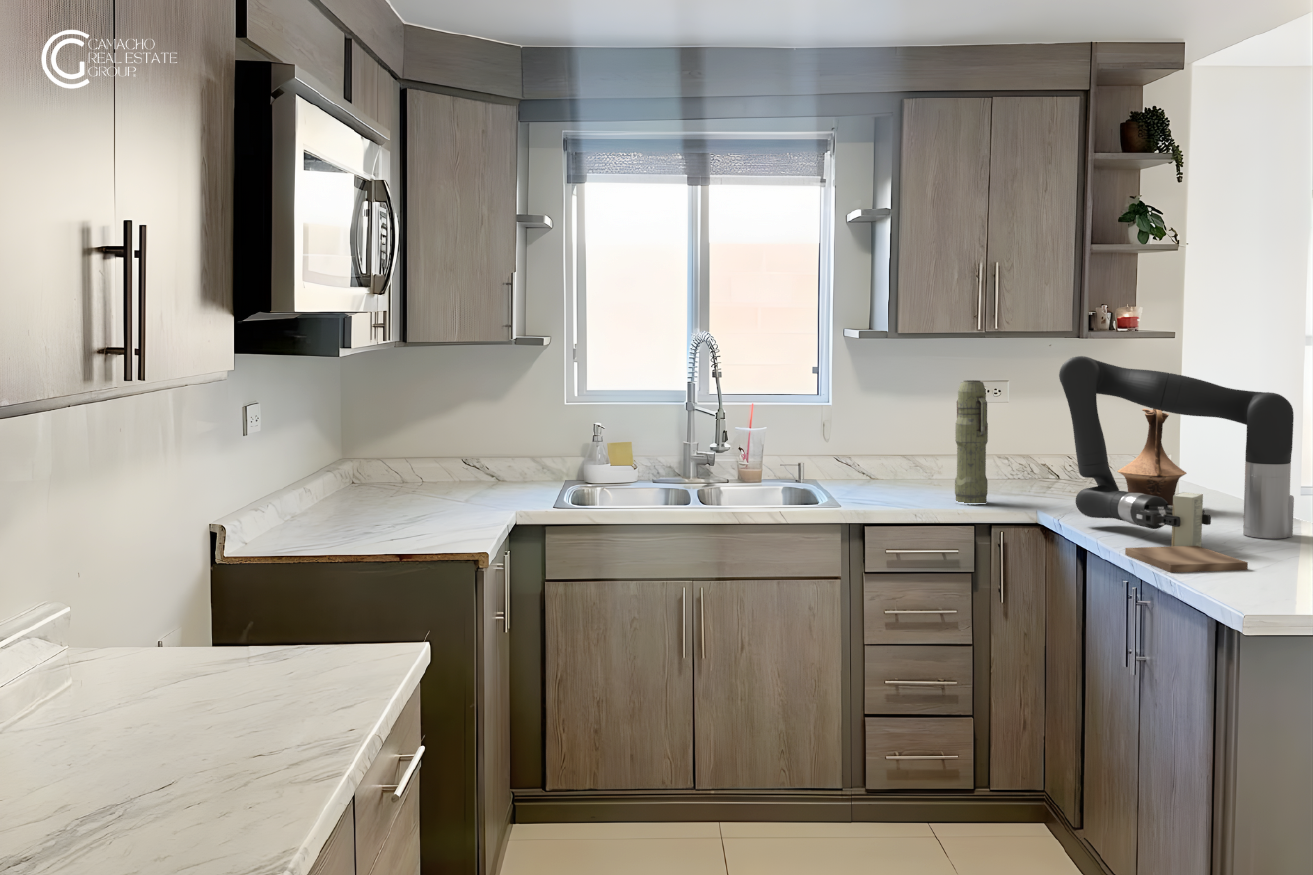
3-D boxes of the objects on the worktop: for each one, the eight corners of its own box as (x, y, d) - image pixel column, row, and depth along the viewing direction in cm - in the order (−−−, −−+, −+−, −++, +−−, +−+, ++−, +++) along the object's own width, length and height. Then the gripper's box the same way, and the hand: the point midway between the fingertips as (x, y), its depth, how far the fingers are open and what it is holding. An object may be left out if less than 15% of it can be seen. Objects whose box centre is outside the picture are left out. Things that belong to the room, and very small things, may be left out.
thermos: (967, 499, 316) (968, 379, 313) (997, 504, 306) (998, 380, 303) (944, 501, 312) (945, 380, 309) (973, 506, 302) (974, 381, 299)
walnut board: (1196, 552, 234) (1196, 545, 234) (1247, 569, 216) (1247, 562, 216) (1125, 554, 233) (1125, 547, 233) (1170, 572, 215) (1170, 564, 215)
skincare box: (1181, 545, 242) (1182, 491, 241) (1202, 548, 239) (1203, 493, 238) (1170, 549, 238) (1171, 495, 236) (1191, 552, 234) (1193, 496, 233)
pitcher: (1194, 515, 281) (1197, 408, 278) (1124, 514, 284) (1126, 408, 282) (1176, 505, 298) (1178, 404, 296) (1110, 504, 301) (1112, 404, 299)
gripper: (1116, 495, 249) (1166, 505, 233) (1170, 492, 253) (1222, 502, 237) (1116, 527, 250) (1165, 540, 234) (1169, 524, 253) (1221, 536, 238)
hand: (1194, 521), depth 236 cm, fingers closed on skincare box, 7 cm apart
